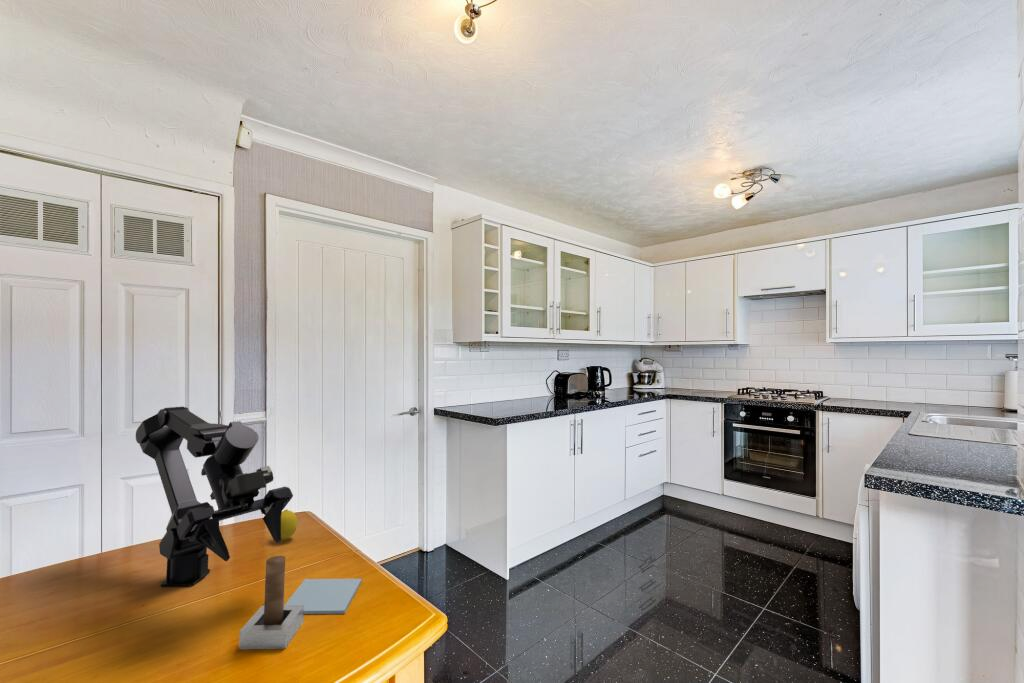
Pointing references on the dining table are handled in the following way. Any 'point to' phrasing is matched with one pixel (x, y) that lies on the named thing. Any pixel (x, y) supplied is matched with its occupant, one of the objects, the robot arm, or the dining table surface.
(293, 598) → the rubber mat
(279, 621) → the walnut rod
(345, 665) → the dining table surface
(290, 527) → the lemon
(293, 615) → the collar
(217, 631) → the dining table surface
